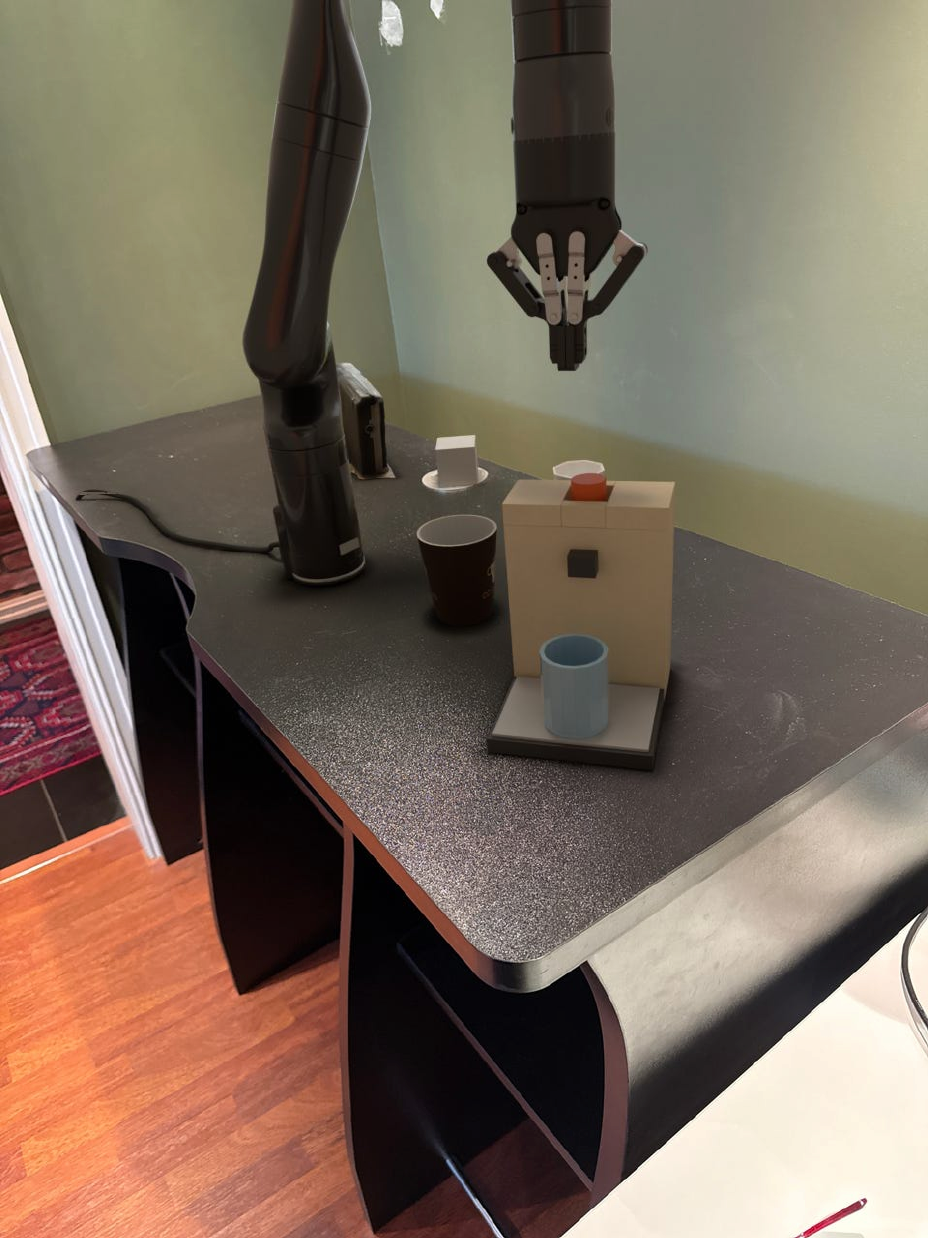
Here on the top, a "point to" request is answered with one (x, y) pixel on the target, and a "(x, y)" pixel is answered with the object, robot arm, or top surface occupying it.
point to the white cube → (456, 461)
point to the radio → (363, 424)
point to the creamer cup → (575, 685)
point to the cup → (576, 469)
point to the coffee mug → (460, 566)
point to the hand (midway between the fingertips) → (568, 368)
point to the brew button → (589, 487)
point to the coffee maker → (589, 611)
